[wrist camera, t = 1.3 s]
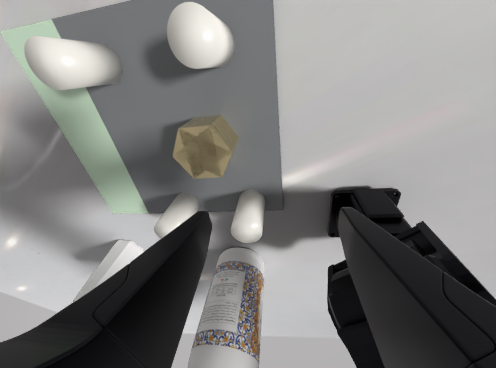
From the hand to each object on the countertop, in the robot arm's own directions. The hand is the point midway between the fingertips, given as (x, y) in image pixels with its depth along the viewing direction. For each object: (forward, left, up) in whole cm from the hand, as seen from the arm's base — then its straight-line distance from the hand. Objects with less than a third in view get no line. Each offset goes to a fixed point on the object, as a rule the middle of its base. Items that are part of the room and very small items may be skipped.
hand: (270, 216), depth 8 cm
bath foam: (-19, +6, -12) cm, 23 cm away
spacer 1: (+8, +14, -12) cm, 20 cm away
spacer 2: (-7, +11, -12) cm, 18 cm away
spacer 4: (-7, +3, -12) cm, 14 cm away
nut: (0, +6, -12) cm, 13 cm away
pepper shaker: (-17, +24, -12) cm, 32 cm away
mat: (+1, +11, -12) cm, 16 cm away
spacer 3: (+8, +4, -12) cm, 14 cm away
